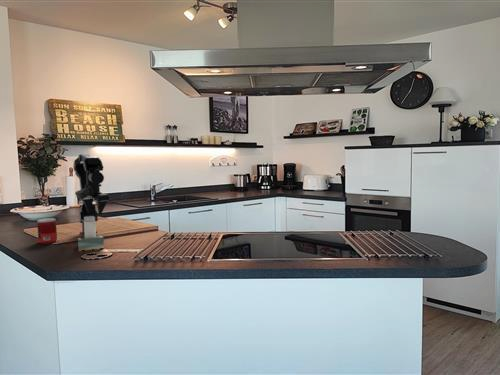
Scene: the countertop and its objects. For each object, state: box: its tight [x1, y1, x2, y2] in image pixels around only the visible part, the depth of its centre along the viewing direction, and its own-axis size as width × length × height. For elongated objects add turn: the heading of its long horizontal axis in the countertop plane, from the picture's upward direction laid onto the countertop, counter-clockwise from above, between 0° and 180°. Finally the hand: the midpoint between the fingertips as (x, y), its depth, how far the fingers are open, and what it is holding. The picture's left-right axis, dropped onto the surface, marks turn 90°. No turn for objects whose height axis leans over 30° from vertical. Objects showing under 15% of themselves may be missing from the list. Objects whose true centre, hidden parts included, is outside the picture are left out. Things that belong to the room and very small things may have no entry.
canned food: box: [36, 217, 58, 245], centre depth 181 cm, size 8×8×11 cm
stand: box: [77, 235, 105, 252], centre depth 171 cm, size 11×10×5 cm
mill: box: [83, 216, 97, 239], centre depth 170 cm, size 5×5×13 cm
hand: (94, 213), depth 184 cm, fingers open, 9 cm apart
